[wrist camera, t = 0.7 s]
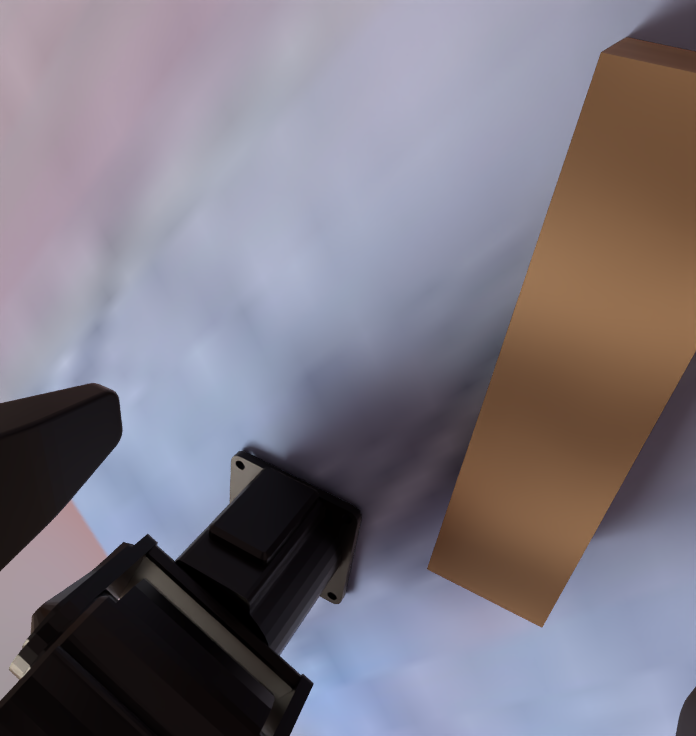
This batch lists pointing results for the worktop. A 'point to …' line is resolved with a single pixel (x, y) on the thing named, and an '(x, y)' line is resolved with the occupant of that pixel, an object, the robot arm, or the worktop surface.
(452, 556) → the walnut bar
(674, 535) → the worktop surface
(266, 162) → the worktop surface
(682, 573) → the worktop surface
